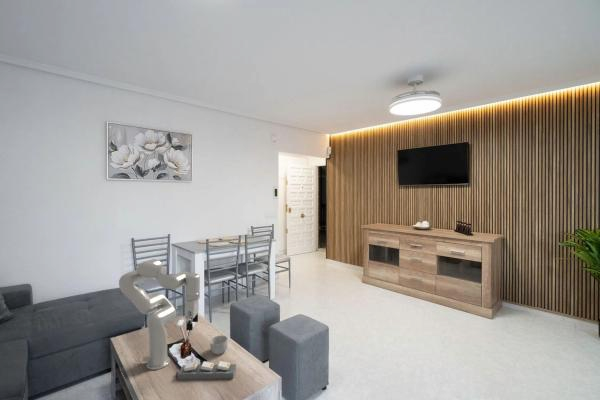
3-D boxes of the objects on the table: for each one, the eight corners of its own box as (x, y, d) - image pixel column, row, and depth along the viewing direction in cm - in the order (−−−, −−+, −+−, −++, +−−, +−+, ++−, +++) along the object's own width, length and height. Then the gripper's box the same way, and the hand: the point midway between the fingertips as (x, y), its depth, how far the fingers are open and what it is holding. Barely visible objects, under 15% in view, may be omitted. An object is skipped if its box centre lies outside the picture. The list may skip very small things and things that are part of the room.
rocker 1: (184, 371, 156) (183, 368, 156) (187, 366, 161) (186, 363, 160) (195, 369, 156) (194, 365, 156) (198, 364, 161) (197, 361, 161)
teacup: (222, 357, 175) (222, 344, 175) (206, 355, 177) (206, 342, 177) (232, 345, 189) (232, 333, 188) (217, 343, 191) (217, 332, 191)
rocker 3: (217, 368, 157) (218, 365, 157) (219, 363, 161) (220, 360, 161) (228, 370, 157) (228, 367, 157) (229, 365, 161) (230, 362, 161)
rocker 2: (200, 368, 156) (201, 365, 156) (203, 364, 161) (203, 361, 161) (211, 370, 157) (212, 367, 157) (213, 366, 161) (214, 363, 161)
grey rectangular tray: (173, 379, 154) (173, 372, 154) (179, 370, 162) (179, 364, 162) (233, 378, 155) (233, 371, 155) (236, 369, 163) (236, 362, 163)
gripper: (190, 290, 169) (190, 318, 169) (180, 302, 152) (179, 333, 152) (203, 290, 169) (203, 318, 170) (194, 302, 152) (194, 333, 153)
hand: (192, 325), depth 161 cm, fingers open, 9 cm apart
